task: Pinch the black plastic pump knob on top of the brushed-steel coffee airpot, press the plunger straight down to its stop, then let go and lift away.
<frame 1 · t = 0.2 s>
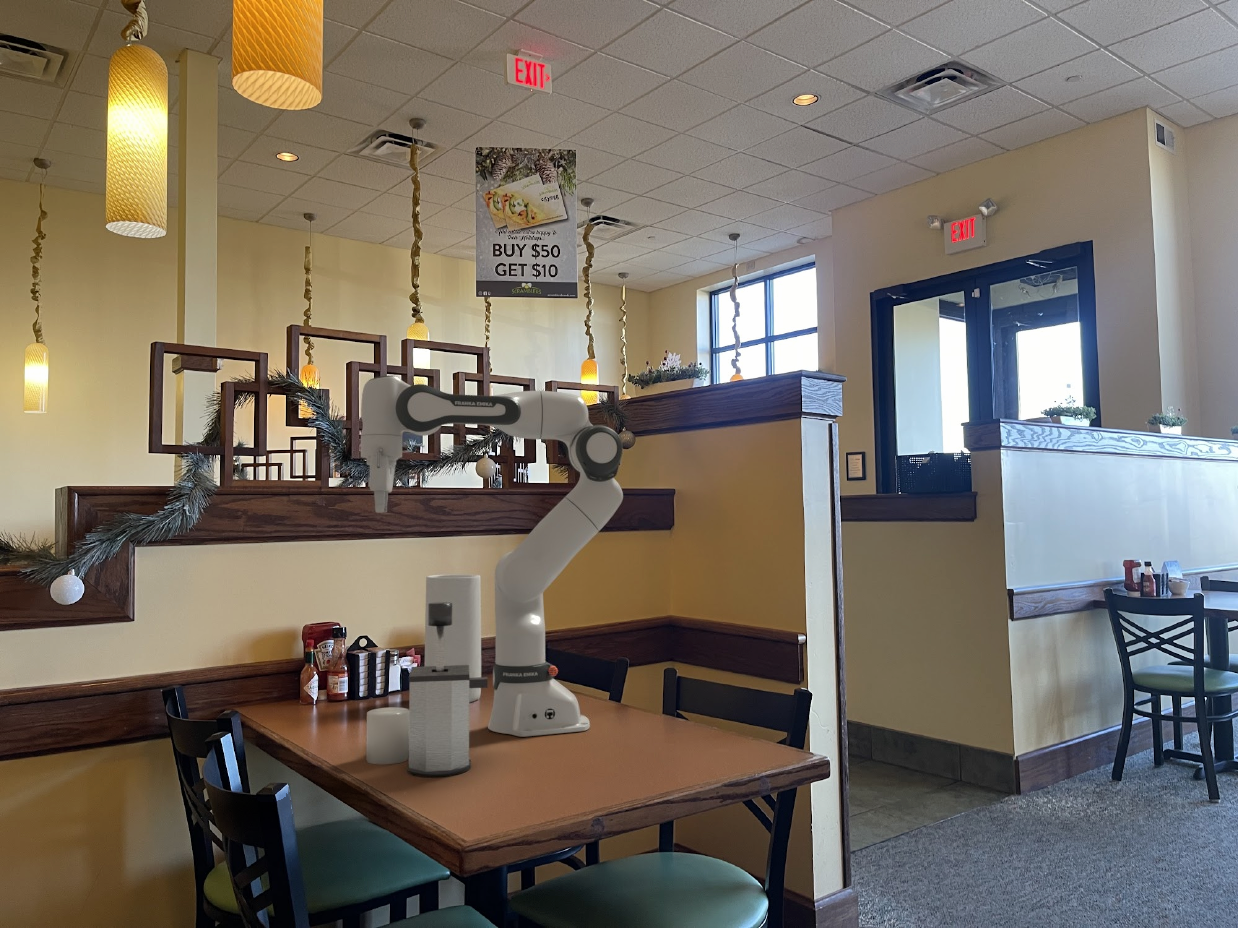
hand: (381, 512, 197), 48 cm above the table, fingers open, 8 cm apart
vase: (452, 700, 231), on the table
diner mug: (387, 758, 175), on the table
airpot: (439, 768, 168), on the table
pump plunger: (440, 659, 169), point 20 cm above the table, slide at 0.0 cm
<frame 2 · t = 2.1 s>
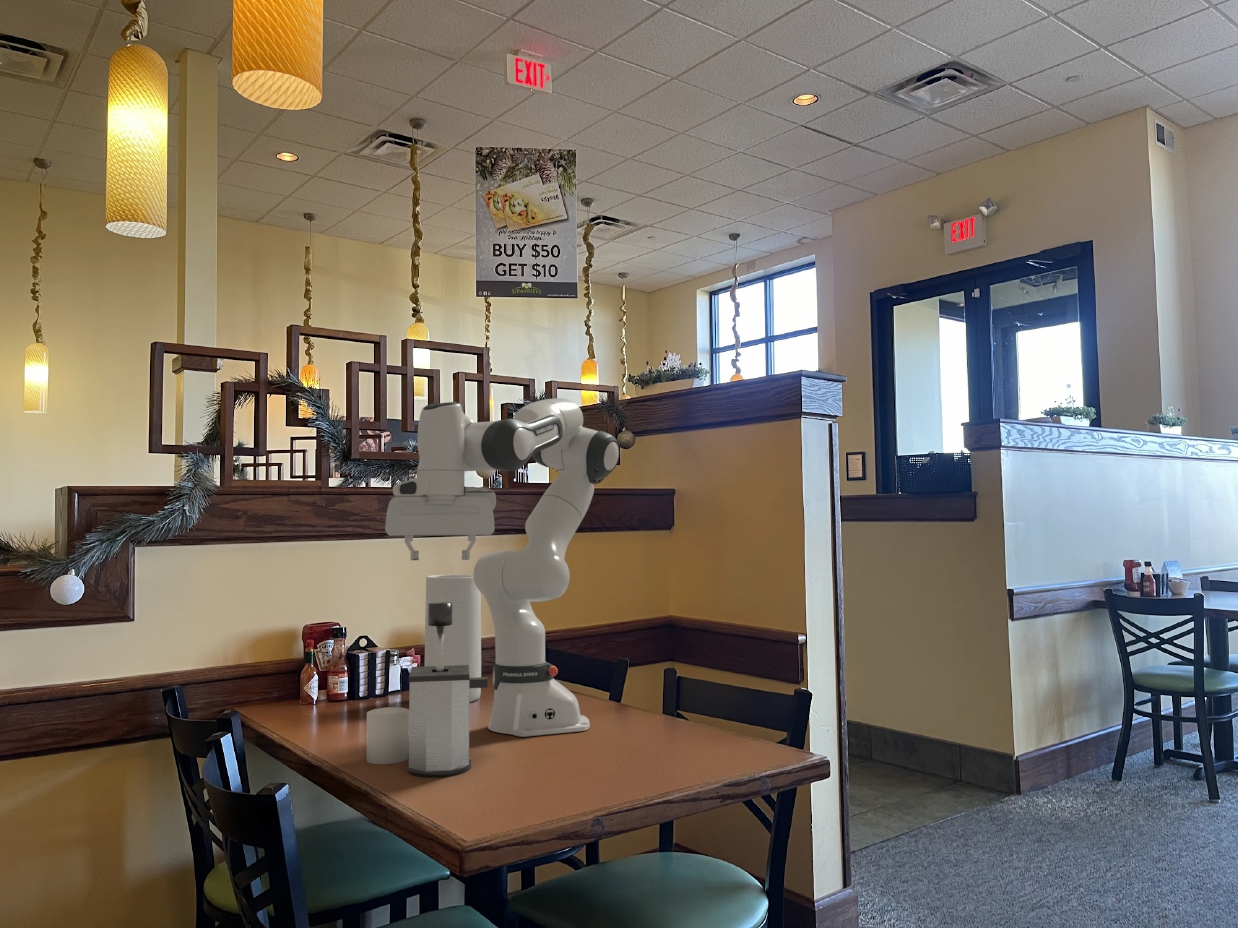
hand: (440, 559, 170), 39 cm above the table, fingers open, 8 cm apart
nothing on the table moved.
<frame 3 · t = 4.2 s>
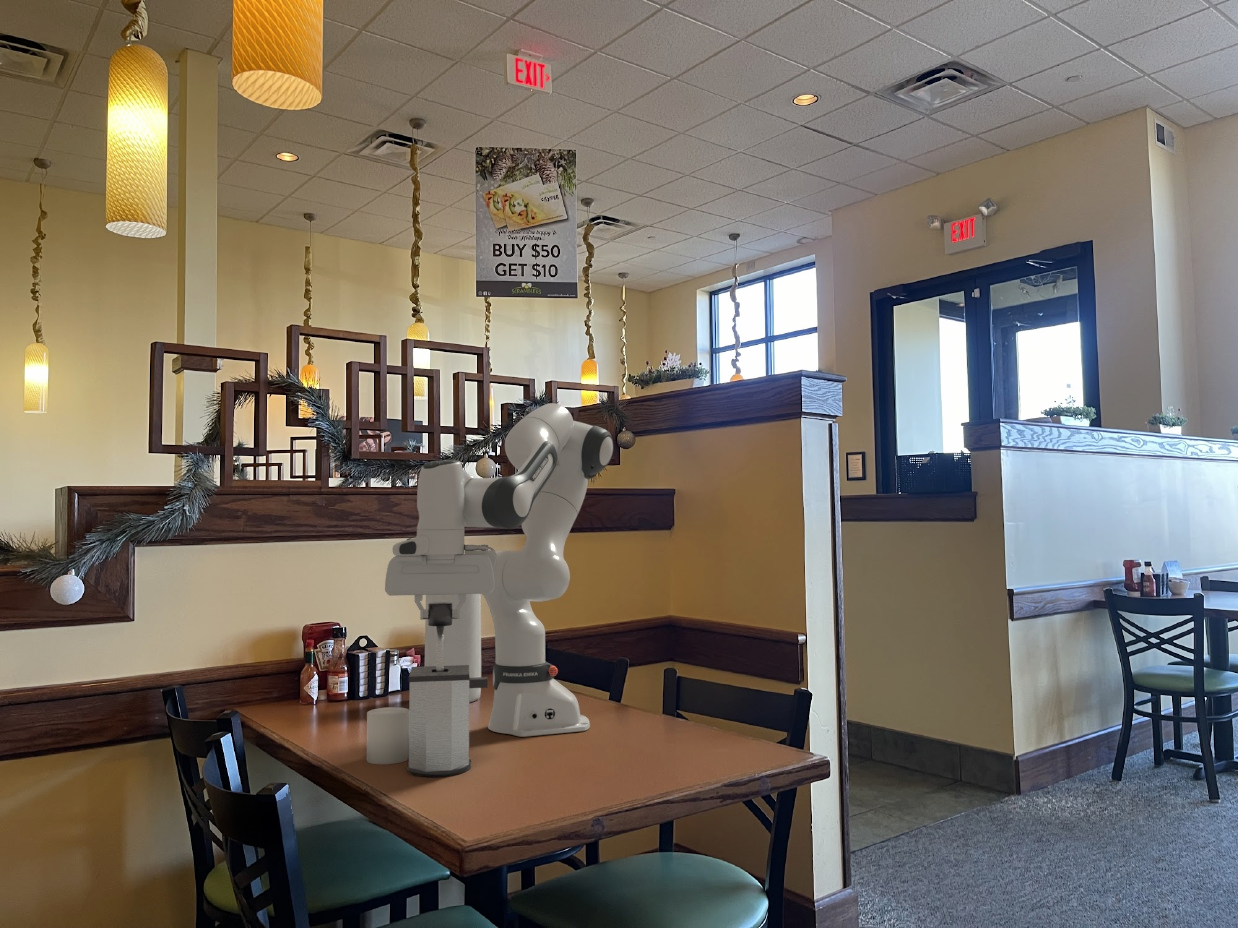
hand: (440, 618, 169), 28 cm above the table, fingers closed on pump plunger, 4 cm apart
pump plunger: (440, 659, 169), point 20 cm above the table, slide at 0.0 cm, touching gripper
everything else where it was.
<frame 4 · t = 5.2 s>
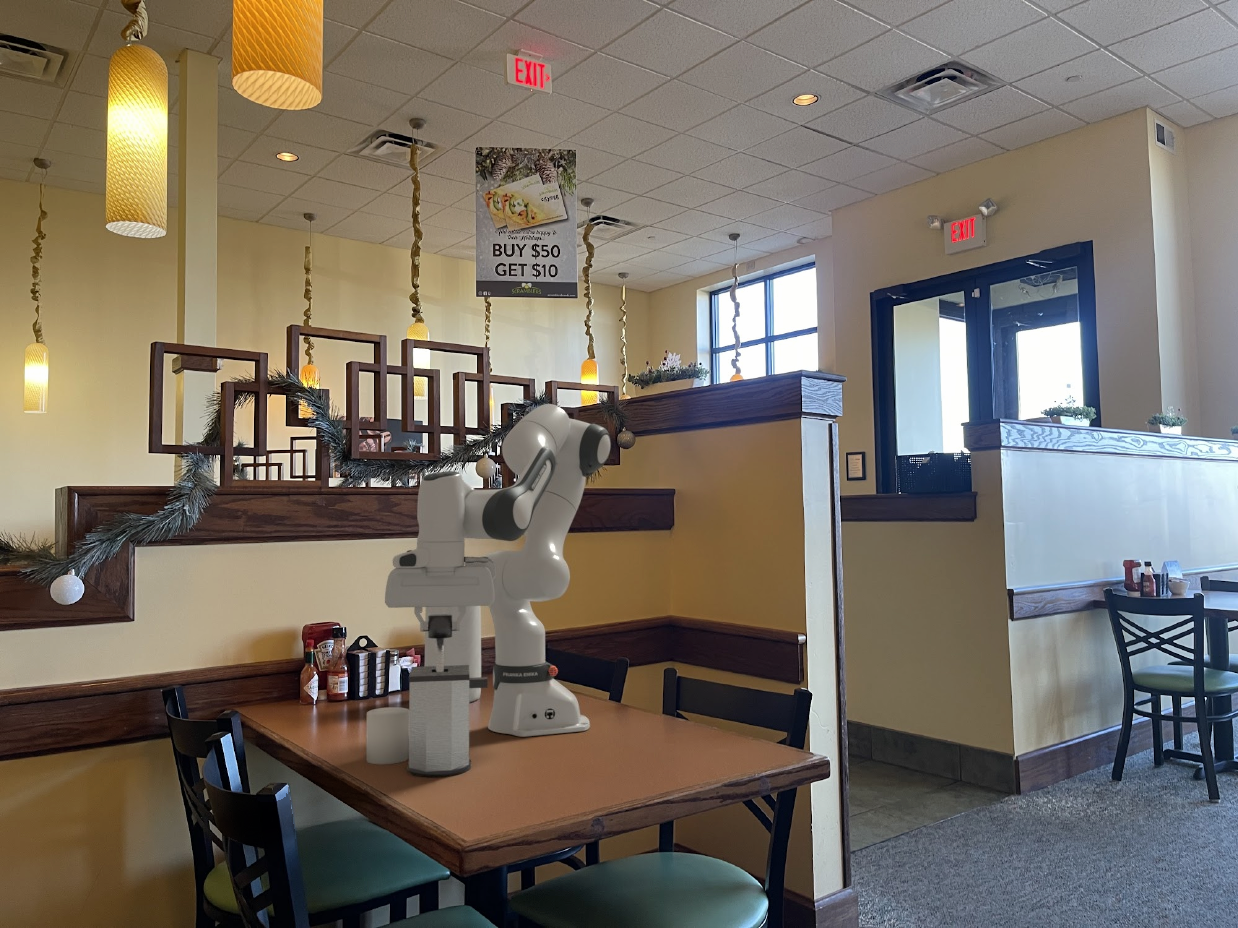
hand: (440, 630, 169), 25 cm above the table, fingers closed on pump plunger, 4 cm apart
pump plunger: (439, 671, 169), point 18 cm above the table, slide at 2.3 cm, touching gripper
everything else where it was.
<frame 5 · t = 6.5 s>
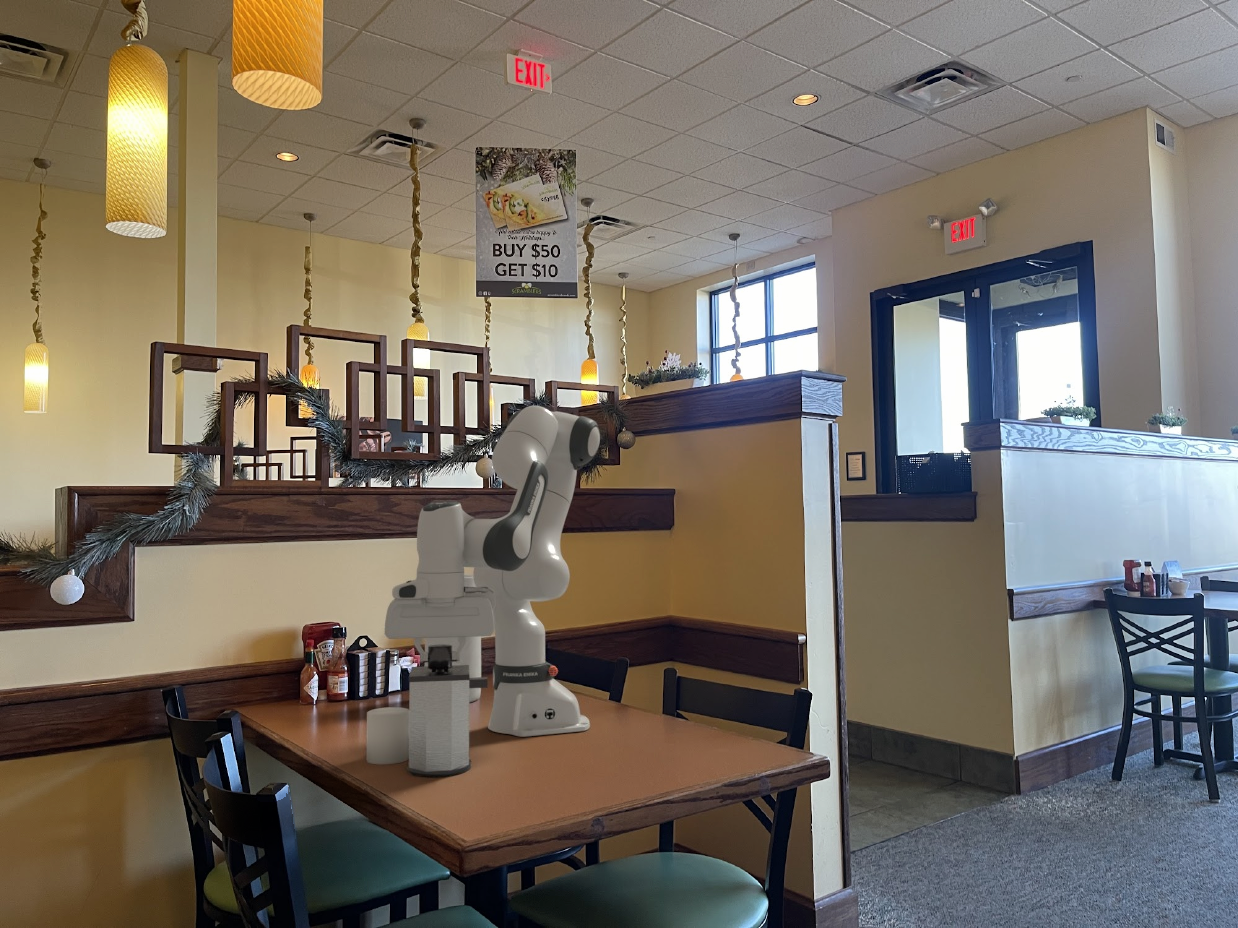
hand: (439, 661, 169), 20 cm above the table, fingers closed on pump plunger, 4 cm apart
pump plunger: (439, 702, 168), point 12 cm above the table, slide at 8.0 cm, touching gripper
everything else where it was.
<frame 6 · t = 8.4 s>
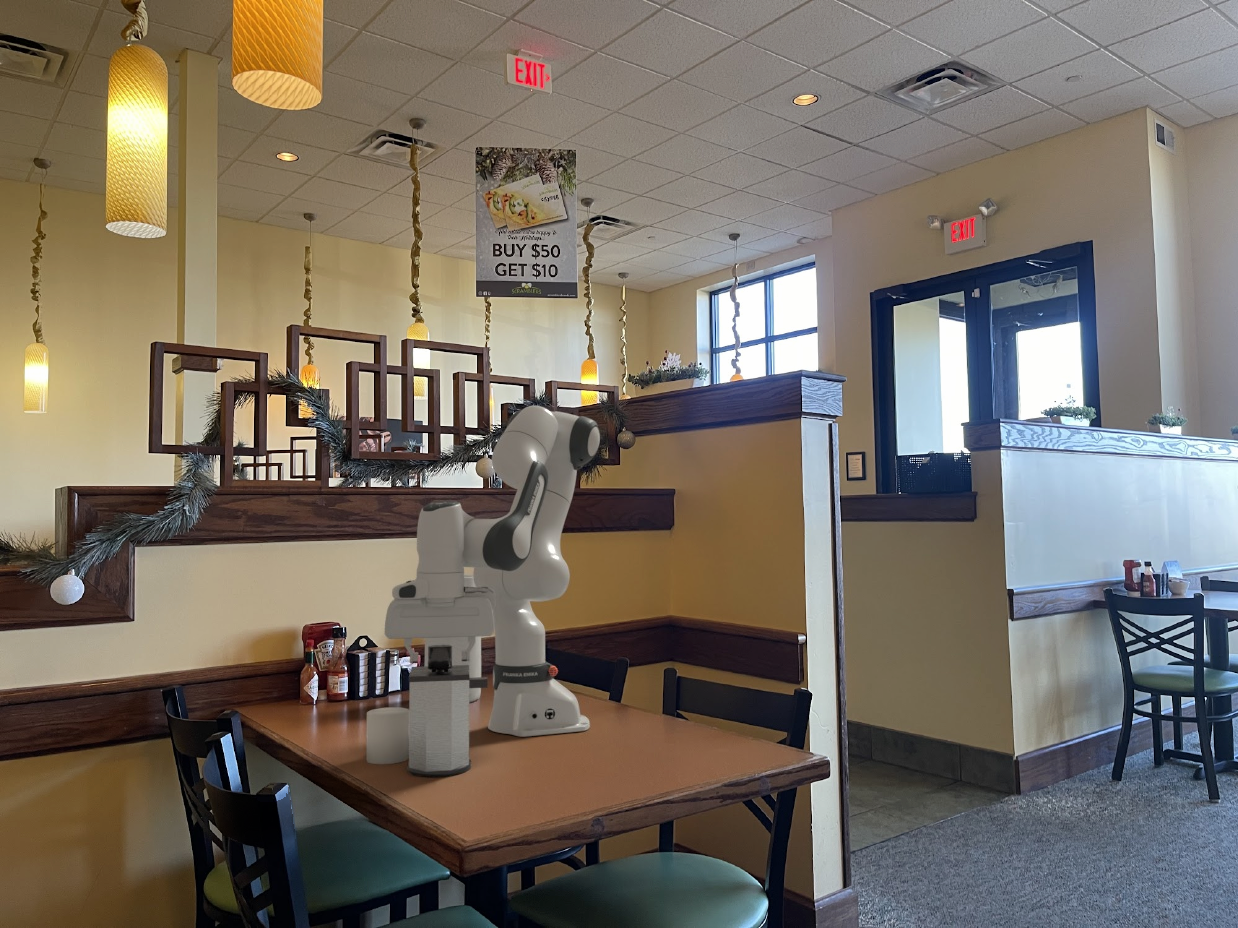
hand: (439, 661, 169), 20 cm above the table, fingers open, 8 cm apart
pump plunger: (439, 702, 168), point 12 cm above the table, slide at 8.0 cm
everything else where it was.
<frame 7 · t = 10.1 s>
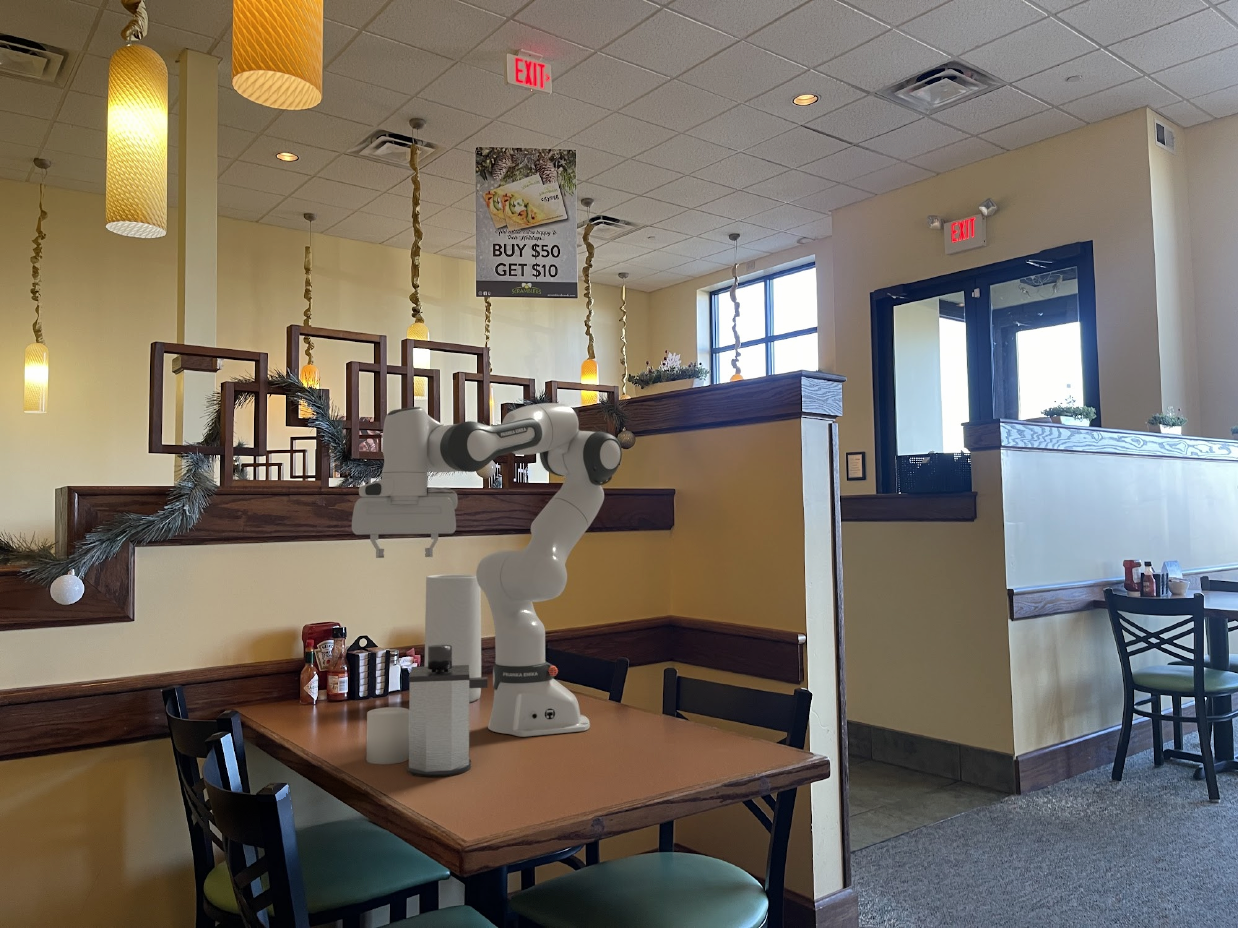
hand: (404, 557, 179), 39 cm above the table, fingers open, 8 cm apart
nothing on the table moved.
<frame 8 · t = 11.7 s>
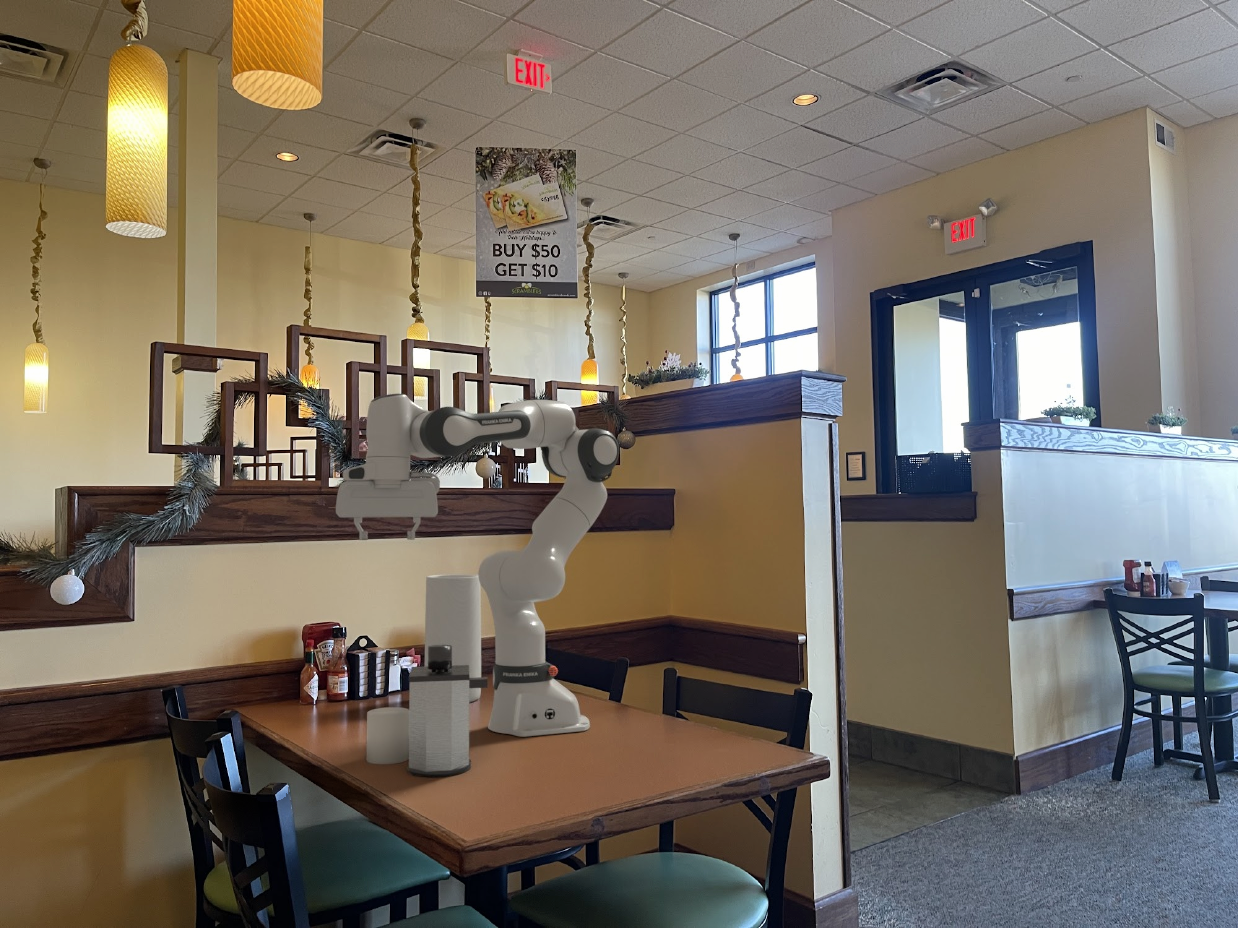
hand: (387, 539, 184), 42 cm above the table, fingers open, 8 cm apart
nothing on the table moved.
at the end: pump plunger slide at 8.0 cm; the gripper is holding nothing; diner mug tilted 0° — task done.
